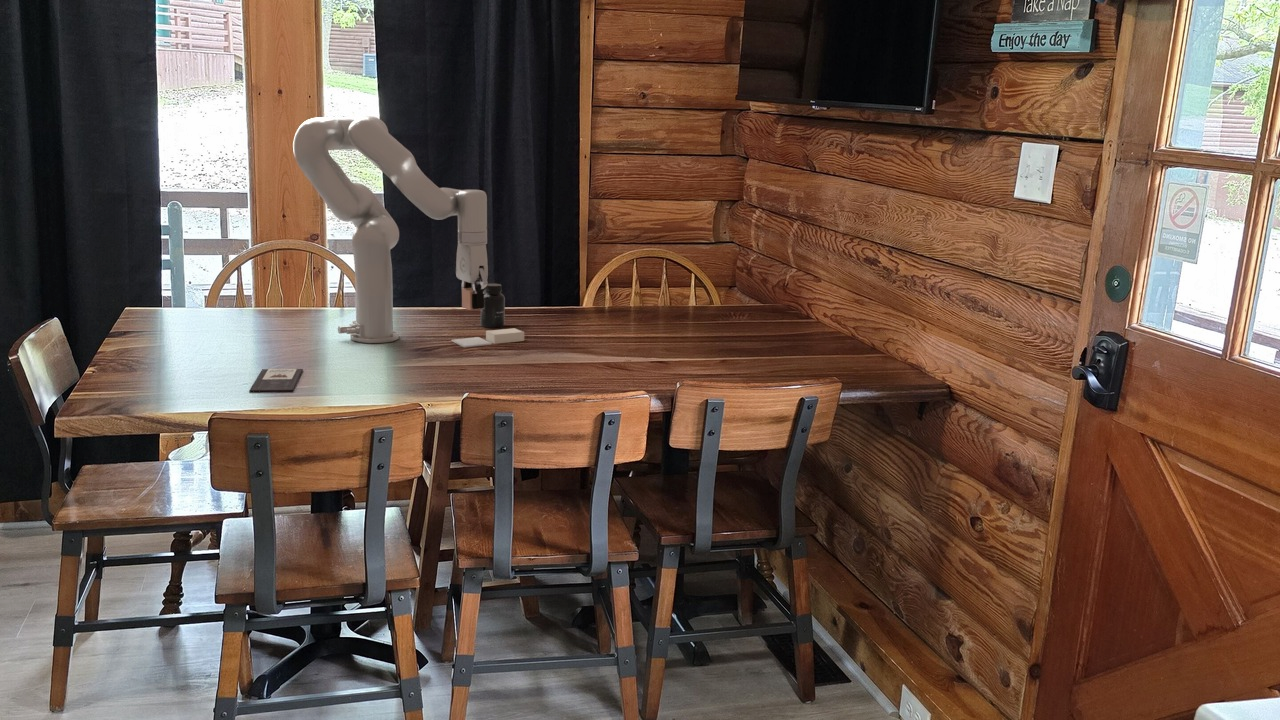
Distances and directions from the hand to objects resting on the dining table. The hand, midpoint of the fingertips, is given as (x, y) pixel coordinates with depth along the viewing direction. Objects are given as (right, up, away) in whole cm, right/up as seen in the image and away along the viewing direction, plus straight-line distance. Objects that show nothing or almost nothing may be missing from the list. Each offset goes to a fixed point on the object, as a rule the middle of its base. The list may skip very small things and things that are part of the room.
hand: (473, 305), depth 278 cm
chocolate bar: (-37, -20, -42) cm, 59 cm away
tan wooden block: (0, -1, 0) cm, 1 cm away
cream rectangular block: (+8, -9, +7) cm, 14 cm away
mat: (-1, -10, +2) cm, 10 cm away
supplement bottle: (+2, -5, +24) cm, 25 cm away
